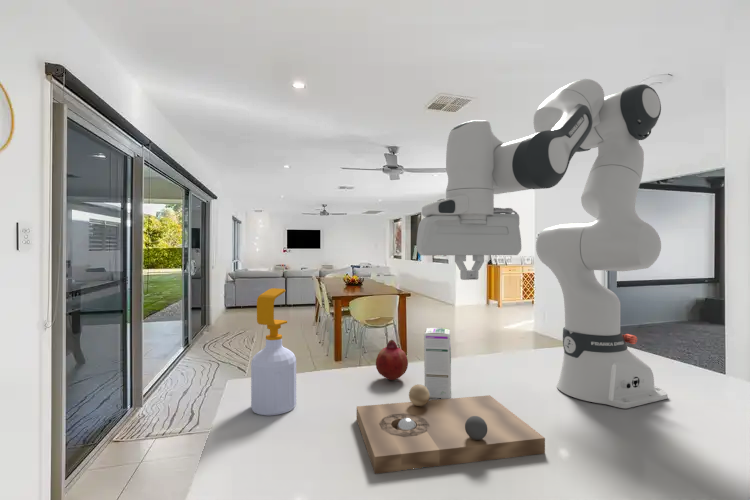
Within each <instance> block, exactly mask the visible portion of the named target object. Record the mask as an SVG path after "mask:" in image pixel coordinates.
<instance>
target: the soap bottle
mask: <svg viewBox="0 0 750 500" xmlns="http://www.w3.org/2000/svg"><path fill="white" fill-rule="evenodd" d="M284 293H286V289H285V288H278V287H277V288H275V287H273V288H272V287H271V288H268V289H267V290H265V291H264V292H263V293H261V294H260V295H259V296H258V297H257V299H256V322H257V324H258V325H263V326H266V327H267V328H266V329H268V330H269V334H267V335H266V336H265V346H264V347H263V348H262V349H261V350H259V351H258V352H256V353H255V354H254V355H253V356H252V359H251V362H250V370H251V371H250V372H251V373H250V378H251V379H250V380H251V381H250V387H251V388H250V389H251V391H250V393H251V394H250V397H251V398H250V400H251V401H250V404H251V406H250V408H251V411H252V412H253V413H255V414H256V415H259V416H277V415H278V416H279V415H283V414H285V413H288V412H290V411H292V410H293V409H294V408H295V406H296V405H297V357H296V356H295V353H294V352H293V351H292V350H290V349H288V348H287V347H284V346H283V334H279V329H281V328H282V327H281V326H282V325H285V324H288V320H283V319H275V315H274V314H275V300H276V299H277V298H278V297H279V296H282V294H284Z"/></svg>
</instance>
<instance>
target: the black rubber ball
mask: <svg viewBox="0 0 750 500" xmlns="http://www.w3.org/2000/svg"><path fill="white" fill-rule="evenodd" d="M465 430H466V433H467V434H468V436H469V437H470V438H472V439H474V440H480V439H483V438H484V437H485V436H486V434H487V424H486V422H485V421H484V420H483V419H482V418H481V417H478V416H472V417H470V418H468V419H467V421H466V423H465Z"/></svg>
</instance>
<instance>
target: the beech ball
mask: <svg viewBox="0 0 750 500" xmlns="http://www.w3.org/2000/svg"><path fill="white" fill-rule="evenodd" d="M408 398H409V402H412V403H413V404H414V405H416V406H424V405H425V404H427V402H428V401H429V400H430V399H431V398H430V394H429V391H428V389H427V388H426V387H425V385H423V384H414V385H413V386H411V387H410V390H409V392H408Z"/></svg>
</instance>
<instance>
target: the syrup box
mask: <svg viewBox="0 0 750 500" xmlns="http://www.w3.org/2000/svg"><path fill="white" fill-rule="evenodd" d="M423 341H424V344H423V345H424V347H423V348H424V349H423V351H424V353H423V355H424V358H423V359H424V361H423V362H424V365H423V366H424V386H425V387H426V388H427V389H428V391H429V394H430V398H429V399H437V398H441V399H451V398H452V397H451V395H452V354H451V353H452V352H451V350H452V349H451V329H450V328H446V327H444V328H443V327H426V329H425V331H424V334H423Z"/></svg>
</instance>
